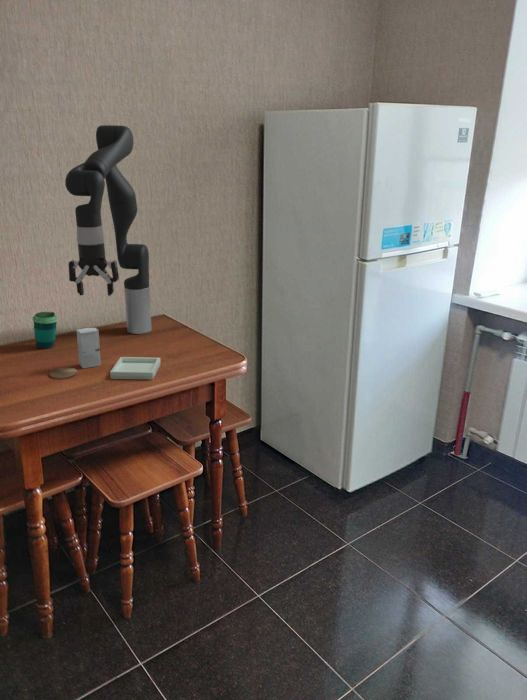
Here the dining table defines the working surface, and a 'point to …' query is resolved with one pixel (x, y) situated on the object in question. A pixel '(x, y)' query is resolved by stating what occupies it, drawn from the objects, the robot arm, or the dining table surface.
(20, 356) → the dining table surface
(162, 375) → the dining table surface
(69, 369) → the coaster
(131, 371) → the tray
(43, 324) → the cup
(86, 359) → the skincare box
